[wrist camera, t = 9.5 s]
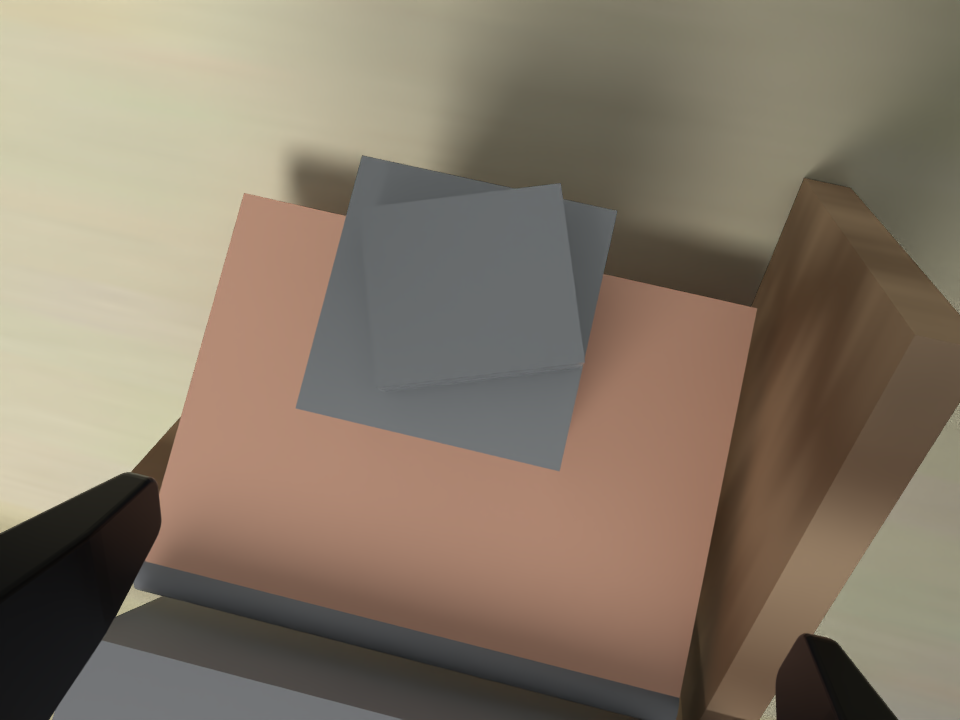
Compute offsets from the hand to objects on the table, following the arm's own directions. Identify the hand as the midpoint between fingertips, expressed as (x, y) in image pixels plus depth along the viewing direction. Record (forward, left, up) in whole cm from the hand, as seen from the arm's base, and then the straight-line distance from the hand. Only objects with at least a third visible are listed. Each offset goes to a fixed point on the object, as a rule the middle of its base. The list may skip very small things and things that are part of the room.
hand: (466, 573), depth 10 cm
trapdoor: (-7, +1, -8) cm, 11 cm away
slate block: (-2, +1, -9) cm, 9 cm away
